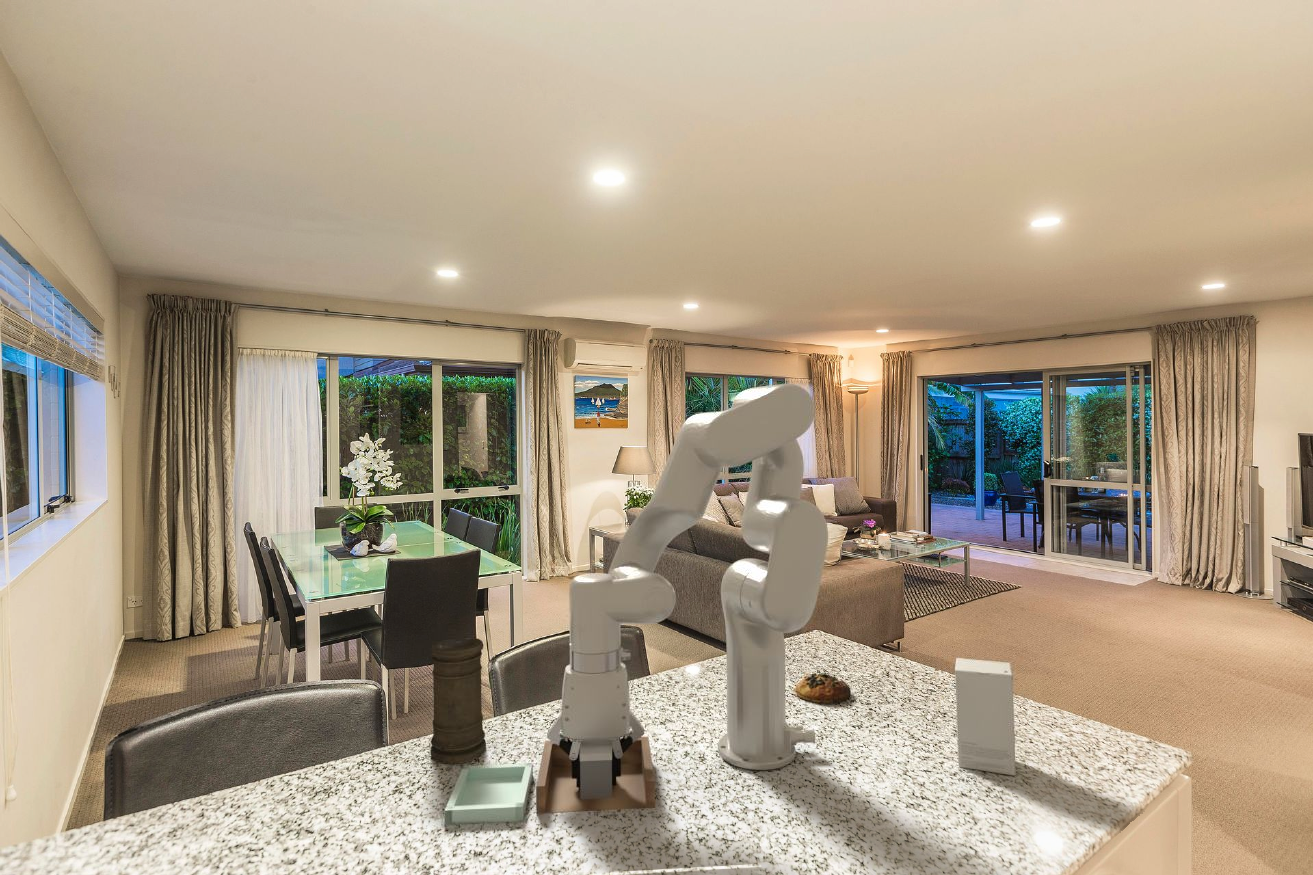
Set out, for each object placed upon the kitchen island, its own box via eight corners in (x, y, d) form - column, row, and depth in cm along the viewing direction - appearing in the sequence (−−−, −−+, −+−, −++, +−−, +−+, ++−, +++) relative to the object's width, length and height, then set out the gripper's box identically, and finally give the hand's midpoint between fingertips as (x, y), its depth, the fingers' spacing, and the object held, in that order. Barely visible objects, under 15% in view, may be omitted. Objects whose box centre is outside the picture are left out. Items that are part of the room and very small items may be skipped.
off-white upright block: (611, 773, 106) (611, 731, 105) (612, 798, 98) (612, 752, 98) (581, 775, 105) (581, 732, 105) (580, 799, 98) (579, 754, 98)
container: (471, 766, 109) (470, 653, 109) (419, 762, 111) (418, 650, 110) (495, 742, 118) (494, 637, 117) (447, 737, 119) (446, 634, 119)
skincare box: (1014, 759, 110) (1013, 662, 109) (1016, 778, 104) (1015, 675, 103) (956, 750, 113) (955, 655, 113) (955, 767, 107) (954, 668, 107)
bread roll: (858, 704, 132) (854, 678, 132) (801, 712, 132) (797, 686, 133) (843, 685, 143) (840, 661, 144) (791, 693, 144) (787, 669, 144)
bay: (648, 761, 110) (648, 736, 110) (654, 809, 96) (654, 780, 96) (545, 765, 109) (545, 740, 109) (536, 815, 95) (536, 786, 95)
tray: (532, 777, 105) (532, 762, 105) (523, 822, 93) (522, 806, 93) (463, 780, 104) (463, 765, 104) (444, 826, 92) (444, 810, 92)
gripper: (650, 649, 106) (651, 767, 106) (540, 652, 105) (541, 772, 105) (654, 665, 99) (655, 792, 99) (535, 669, 97) (536, 797, 97)
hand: (596, 780), depth 102 cm, fingers closed on off-white upright block, 4 cm apart
